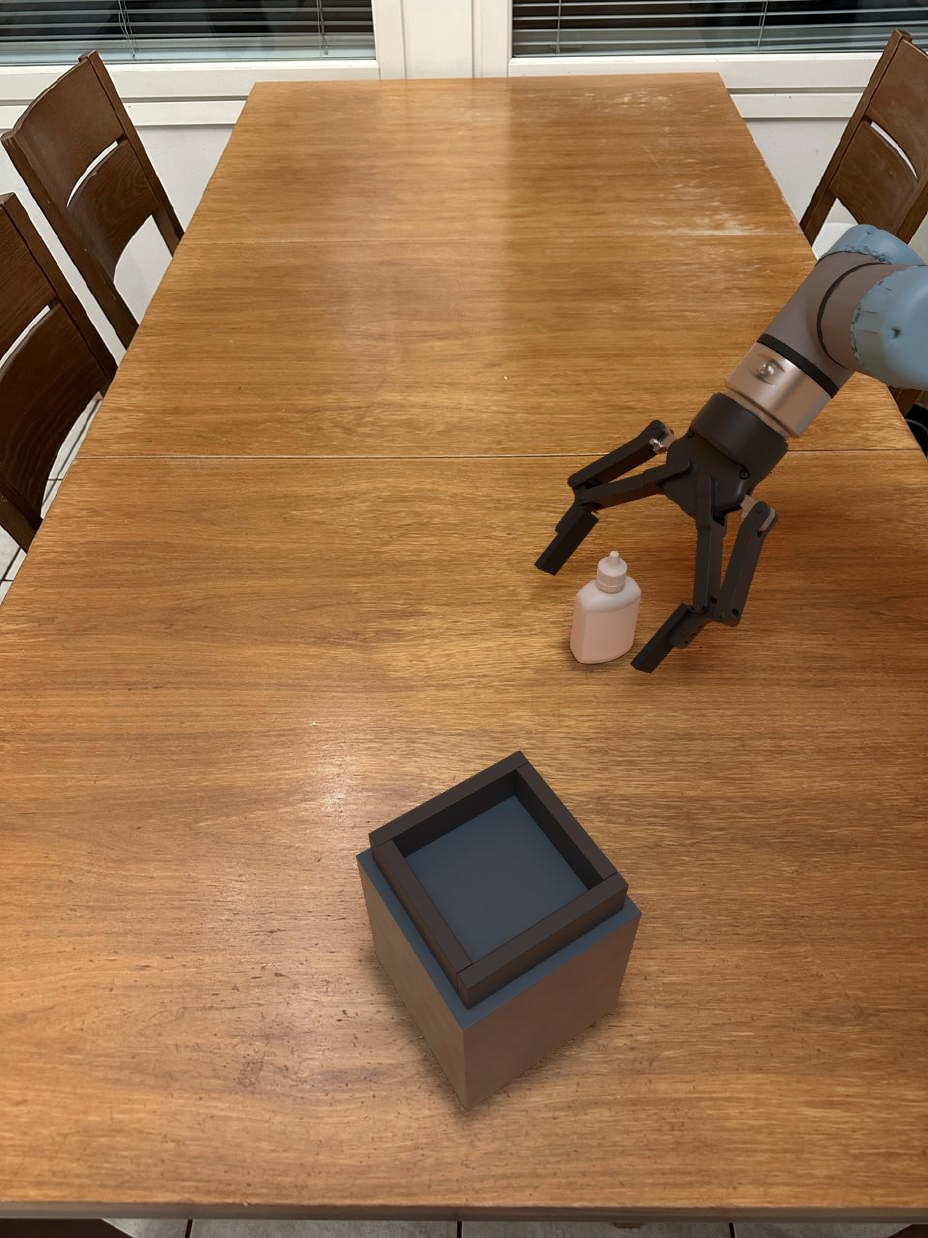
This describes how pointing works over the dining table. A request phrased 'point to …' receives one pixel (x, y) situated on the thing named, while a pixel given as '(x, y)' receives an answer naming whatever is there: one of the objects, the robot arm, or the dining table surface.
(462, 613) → the dining table surface
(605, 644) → the eye dropper bottle
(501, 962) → the pedestal
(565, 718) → the dining table surface
